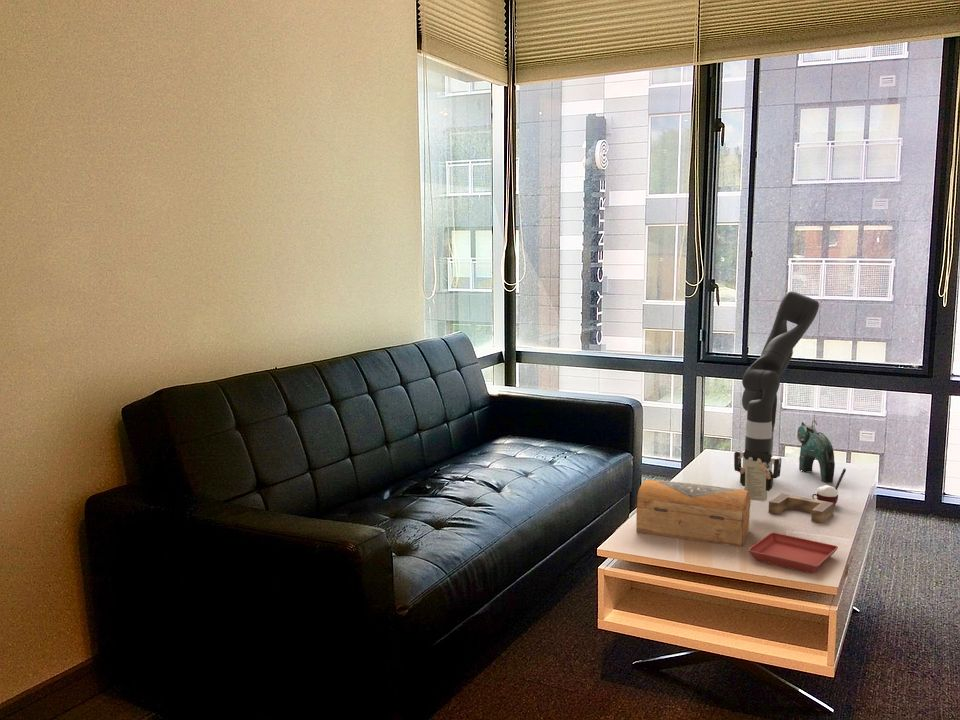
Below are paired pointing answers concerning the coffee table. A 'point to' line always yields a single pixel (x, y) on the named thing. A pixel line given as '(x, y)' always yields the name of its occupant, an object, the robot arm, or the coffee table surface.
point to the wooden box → (693, 512)
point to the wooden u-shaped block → (802, 506)
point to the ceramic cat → (816, 452)
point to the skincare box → (755, 480)
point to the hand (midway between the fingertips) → (756, 487)
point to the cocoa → (829, 491)
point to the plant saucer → (792, 552)
